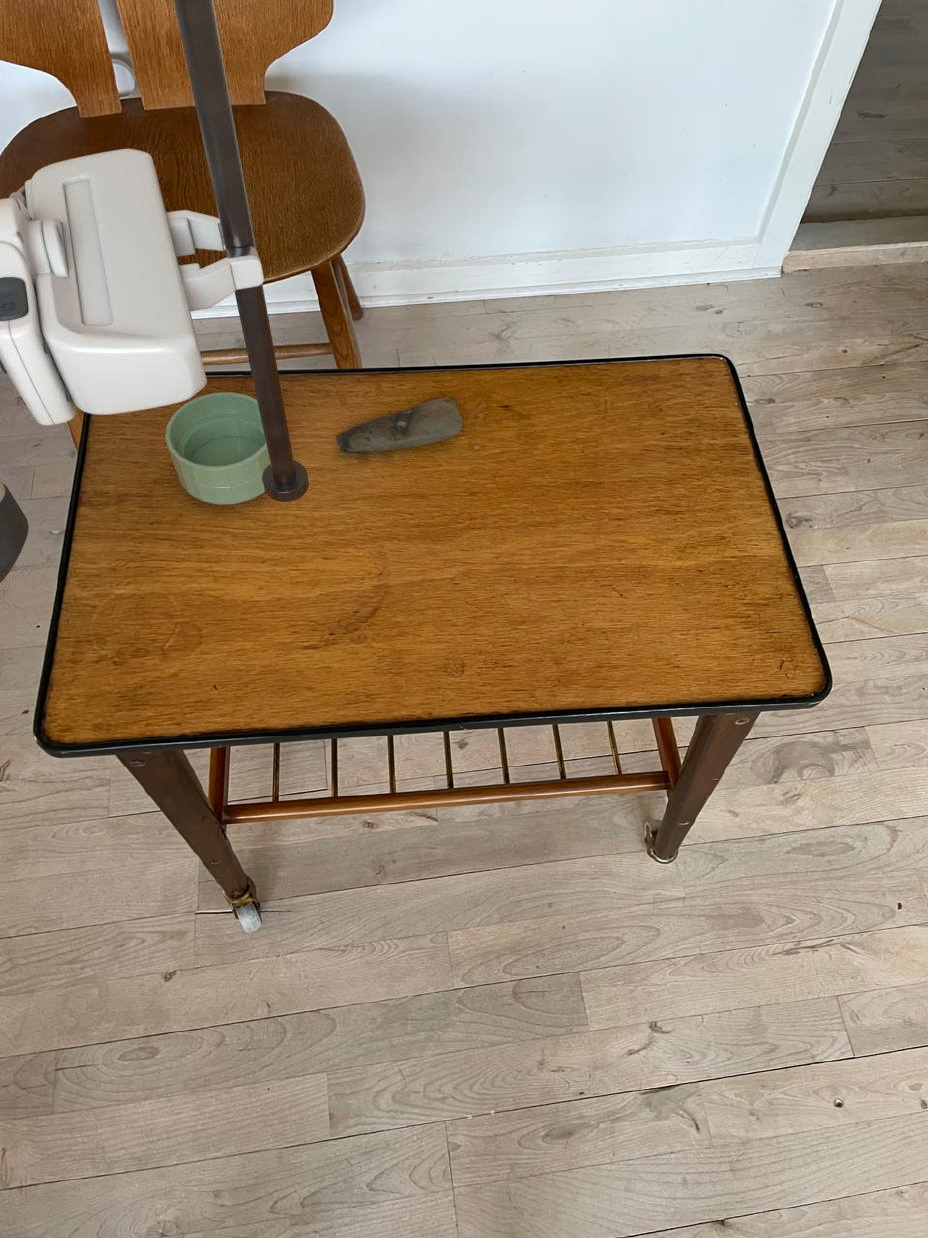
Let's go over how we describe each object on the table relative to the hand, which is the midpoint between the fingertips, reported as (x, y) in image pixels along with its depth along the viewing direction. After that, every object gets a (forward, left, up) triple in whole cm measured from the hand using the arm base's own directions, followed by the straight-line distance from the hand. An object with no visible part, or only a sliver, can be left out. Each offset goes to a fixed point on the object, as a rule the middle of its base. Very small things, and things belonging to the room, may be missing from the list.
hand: (255, 249), depth 51 cm
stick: (-1, -1, -21) cm, 21 cm away
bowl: (-13, +5, -32) cm, 35 cm away
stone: (-2, +18, -32) cm, 37 cm away
